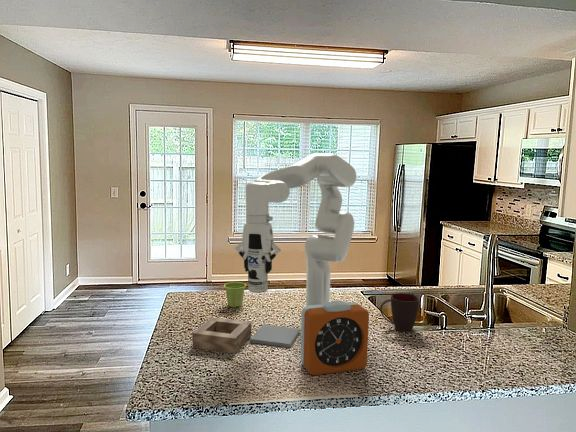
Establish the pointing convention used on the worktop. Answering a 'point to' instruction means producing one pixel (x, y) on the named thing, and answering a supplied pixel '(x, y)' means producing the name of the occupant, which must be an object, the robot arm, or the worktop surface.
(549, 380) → the worktop surface
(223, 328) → the walnut collar
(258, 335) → the slate coaster
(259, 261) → the spray can
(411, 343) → the worktop surface
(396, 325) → the cup
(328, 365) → the alarm clock
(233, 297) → the plant pot
